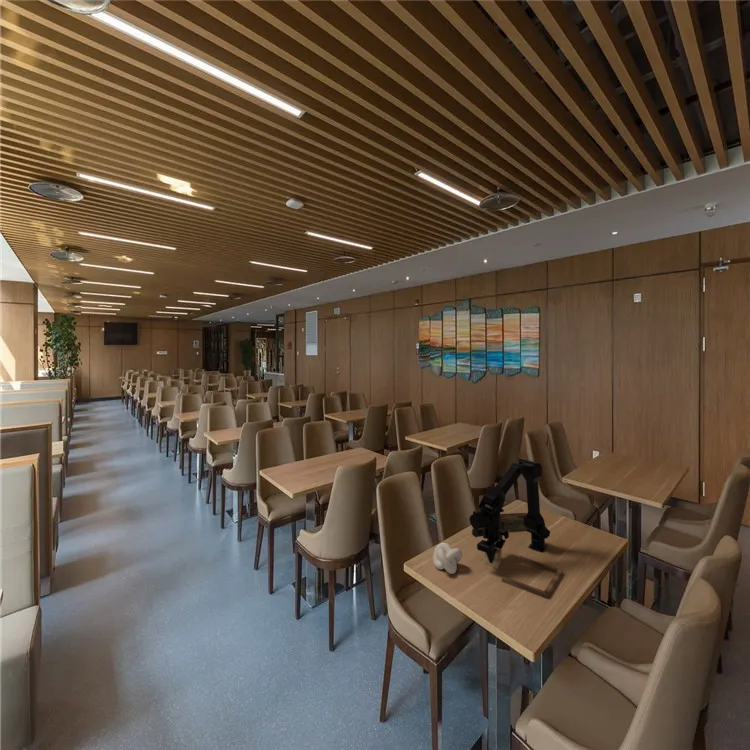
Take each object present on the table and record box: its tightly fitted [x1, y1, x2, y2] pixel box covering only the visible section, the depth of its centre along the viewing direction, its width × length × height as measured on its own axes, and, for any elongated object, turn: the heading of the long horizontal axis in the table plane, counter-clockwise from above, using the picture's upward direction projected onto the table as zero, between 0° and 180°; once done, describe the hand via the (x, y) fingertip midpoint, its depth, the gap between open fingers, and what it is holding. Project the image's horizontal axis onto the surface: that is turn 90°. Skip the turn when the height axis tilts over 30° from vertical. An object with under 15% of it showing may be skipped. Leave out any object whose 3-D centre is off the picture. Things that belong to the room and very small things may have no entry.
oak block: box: [484, 547, 503, 569], centre depth 153 cm, size 5×5×6 cm
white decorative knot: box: [432, 542, 463, 575], centre depth 151 cm, size 11×12×9 cm
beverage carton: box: [500, 512, 528, 532], centre depth 185 cm, size 8×19×7 cm, turn 96°
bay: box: [501, 556, 564, 600], centre depth 143 cm, size 20×16×2 cm
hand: (493, 560), depth 153 cm, fingers closed on oak block, 5 cm apart
